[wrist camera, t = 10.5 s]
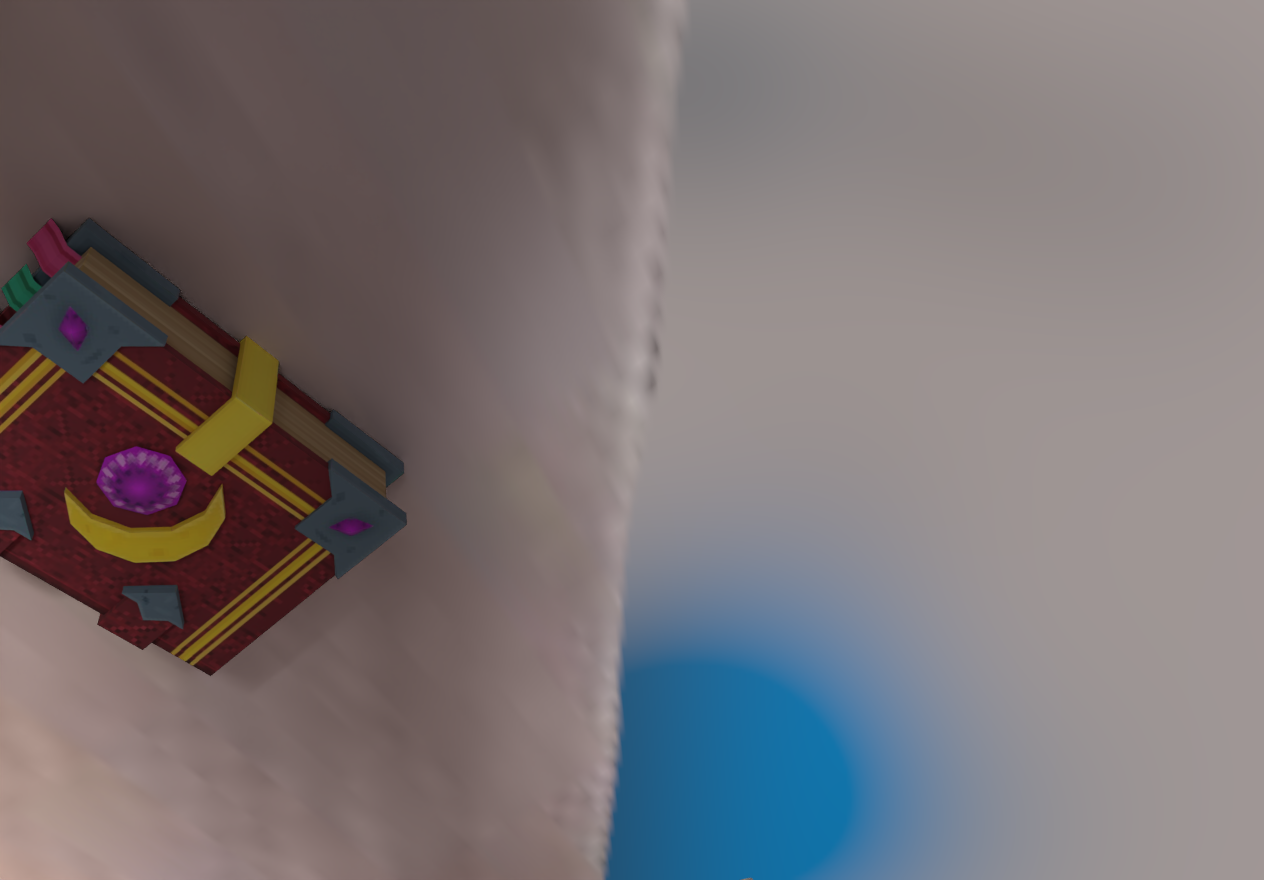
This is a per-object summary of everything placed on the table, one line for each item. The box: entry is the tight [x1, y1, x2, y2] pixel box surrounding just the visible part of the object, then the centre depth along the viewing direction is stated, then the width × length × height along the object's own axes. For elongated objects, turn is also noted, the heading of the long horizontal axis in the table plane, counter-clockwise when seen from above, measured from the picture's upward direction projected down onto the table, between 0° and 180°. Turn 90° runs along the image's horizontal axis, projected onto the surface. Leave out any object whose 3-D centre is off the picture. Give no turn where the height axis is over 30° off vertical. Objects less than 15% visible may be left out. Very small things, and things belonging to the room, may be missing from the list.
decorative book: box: [0, 218, 407, 676], centre depth 43 cm, size 11×16×5 cm
